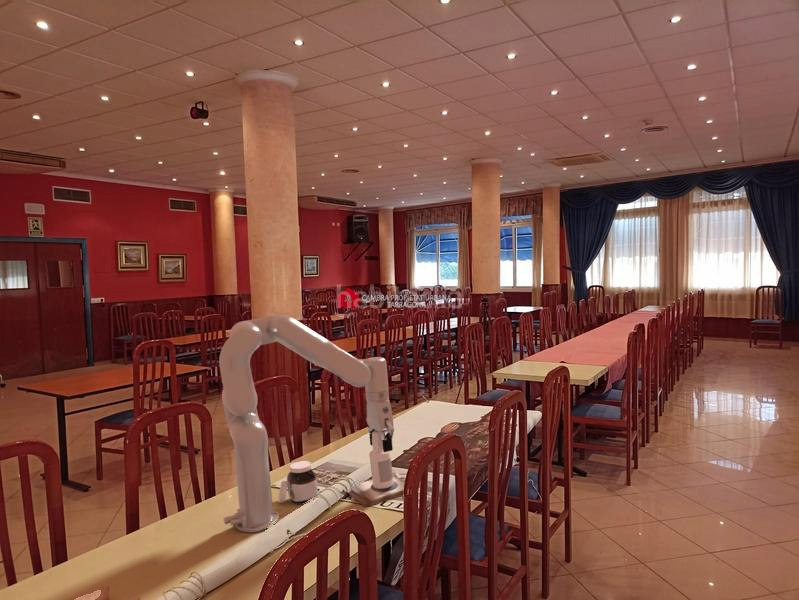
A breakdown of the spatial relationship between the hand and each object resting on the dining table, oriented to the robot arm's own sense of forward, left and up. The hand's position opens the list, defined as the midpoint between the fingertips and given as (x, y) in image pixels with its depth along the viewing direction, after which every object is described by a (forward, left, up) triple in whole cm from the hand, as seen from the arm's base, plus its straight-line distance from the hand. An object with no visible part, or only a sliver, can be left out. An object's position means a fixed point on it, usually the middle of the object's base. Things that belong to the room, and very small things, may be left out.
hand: (381, 447), depth 178 cm
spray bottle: (0, 0, -13) cm, 13 cm away
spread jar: (-26, +12, -15) cm, 32 cm away
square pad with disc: (-2, +1, -15) cm, 15 cm away
